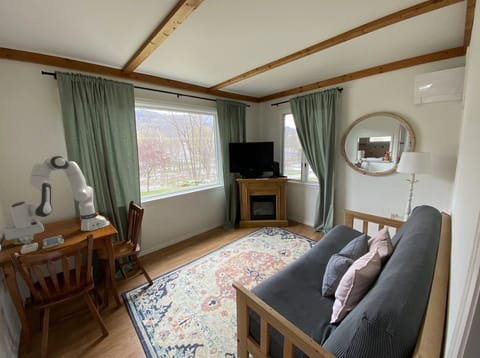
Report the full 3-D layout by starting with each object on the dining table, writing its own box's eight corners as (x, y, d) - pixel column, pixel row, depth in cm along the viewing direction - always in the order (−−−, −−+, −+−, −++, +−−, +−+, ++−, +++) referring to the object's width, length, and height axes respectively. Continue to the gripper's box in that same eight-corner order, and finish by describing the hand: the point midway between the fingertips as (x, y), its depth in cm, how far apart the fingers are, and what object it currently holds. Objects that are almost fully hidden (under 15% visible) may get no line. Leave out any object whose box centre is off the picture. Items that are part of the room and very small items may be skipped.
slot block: (38, 246, 162) (37, 242, 161) (36, 250, 155) (35, 246, 155) (24, 249, 157) (23, 245, 156) (21, 254, 151) (20, 250, 150)
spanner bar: (62, 240, 168) (61, 235, 167) (62, 241, 166) (61, 236, 165) (44, 244, 162) (43, 239, 161) (43, 246, 159) (42, 240, 158)
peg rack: (63, 240, 170) (62, 234, 169) (63, 243, 164) (61, 238, 163) (44, 244, 163) (42, 239, 162) (42, 248, 157) (41, 242, 156)
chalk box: (23, 244, 165) (18, 227, 162) (12, 244, 165) (7, 227, 162) (34, 239, 174) (30, 222, 171) (24, 239, 174) (20, 222, 171)
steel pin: (31, 242, 157) (29, 233, 156) (30, 244, 155) (27, 234, 153) (26, 243, 156) (24, 234, 154) (24, 245, 153) (22, 235, 152)
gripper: (1, 229, 143) (6, 247, 146) (41, 221, 156) (45, 238, 159) (3, 226, 148) (8, 244, 151) (42, 219, 161) (45, 235, 164)
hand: (27, 240), depth 155 cm, fingers closed on steel pin, 3 cm apart
